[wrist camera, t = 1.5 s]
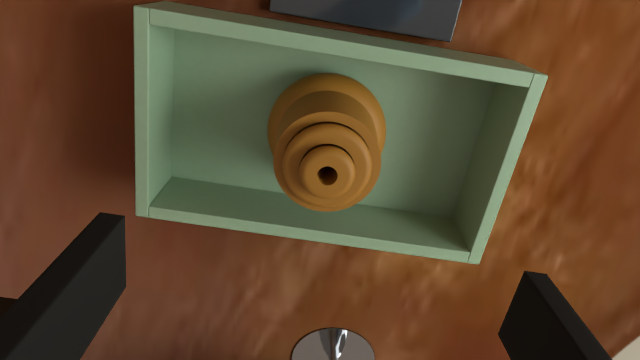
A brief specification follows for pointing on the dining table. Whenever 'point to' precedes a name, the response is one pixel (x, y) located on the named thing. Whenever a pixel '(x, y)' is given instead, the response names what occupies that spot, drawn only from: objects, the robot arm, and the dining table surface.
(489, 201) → the tote
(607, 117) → the dining table surface
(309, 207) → the ornamental finial
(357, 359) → the metal goblet
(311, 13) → the slate tile
